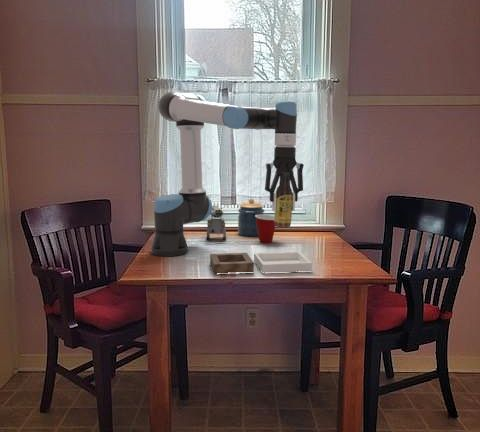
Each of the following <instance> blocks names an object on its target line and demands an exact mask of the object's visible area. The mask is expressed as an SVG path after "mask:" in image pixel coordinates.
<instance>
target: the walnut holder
mask: <svg viewBox="0 0 480 432" xmlns="http://www.w3.org/2000/svg"><path fill="white" fill-rule="evenodd" d="M210 264H211V265H210ZM254 264H255V263H254V260H252V258H251V257H250V255H249V254H248V252H232V253H230V252H227V253H226V252H225V253H210V254H209V265H210V267H212V268H211V270H212V269H213V271H212V273H213V272H214V274H217V273H228V272H254V271H255V268H254V266H255V265H254ZM254 273H255V272H254ZM214 274H213V275H214Z"/></svg>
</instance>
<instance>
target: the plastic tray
mask: <svg viewBox="0 0 480 432" xmlns="http://www.w3.org/2000/svg"><path fill="white" fill-rule="evenodd" d="M253 262H255V263H256V264H257V266H258V267H259V268H260V270H261V271H262V272H264V273H265V272H296V271H297V272H298V271H312V272H313V262H312V261H310V259H308V258H307V257H306V256H305V255H304V254H303V253H302V252H300V251H281V252H279V251H277V252H276V251H275V252H273V251H272V252H254V253H253ZM255 263H254V264H255ZM256 264H255V265H256ZM257 266H256V267H257ZM258 267H257V268H258ZM259 268H258V269H259ZM260 270H259V271H260ZM261 271H260V272H261Z"/></svg>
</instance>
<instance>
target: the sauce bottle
mask: <svg viewBox="0 0 480 432" xmlns="http://www.w3.org/2000/svg"><path fill="white" fill-rule="evenodd" d="M278 183H279V185H278V186H277V187H276V189H275V193H276V211H274V215H273V216H274V221H275V223H274V225H275V228H285V229H286V228H290V227H291V223H292V217H293V216H292V212H293V211H292V199H293V195H292V192H293V188H292V186H291V181H290V173H286V172H282V173H281V175H280V177H279V181H278Z"/></svg>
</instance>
